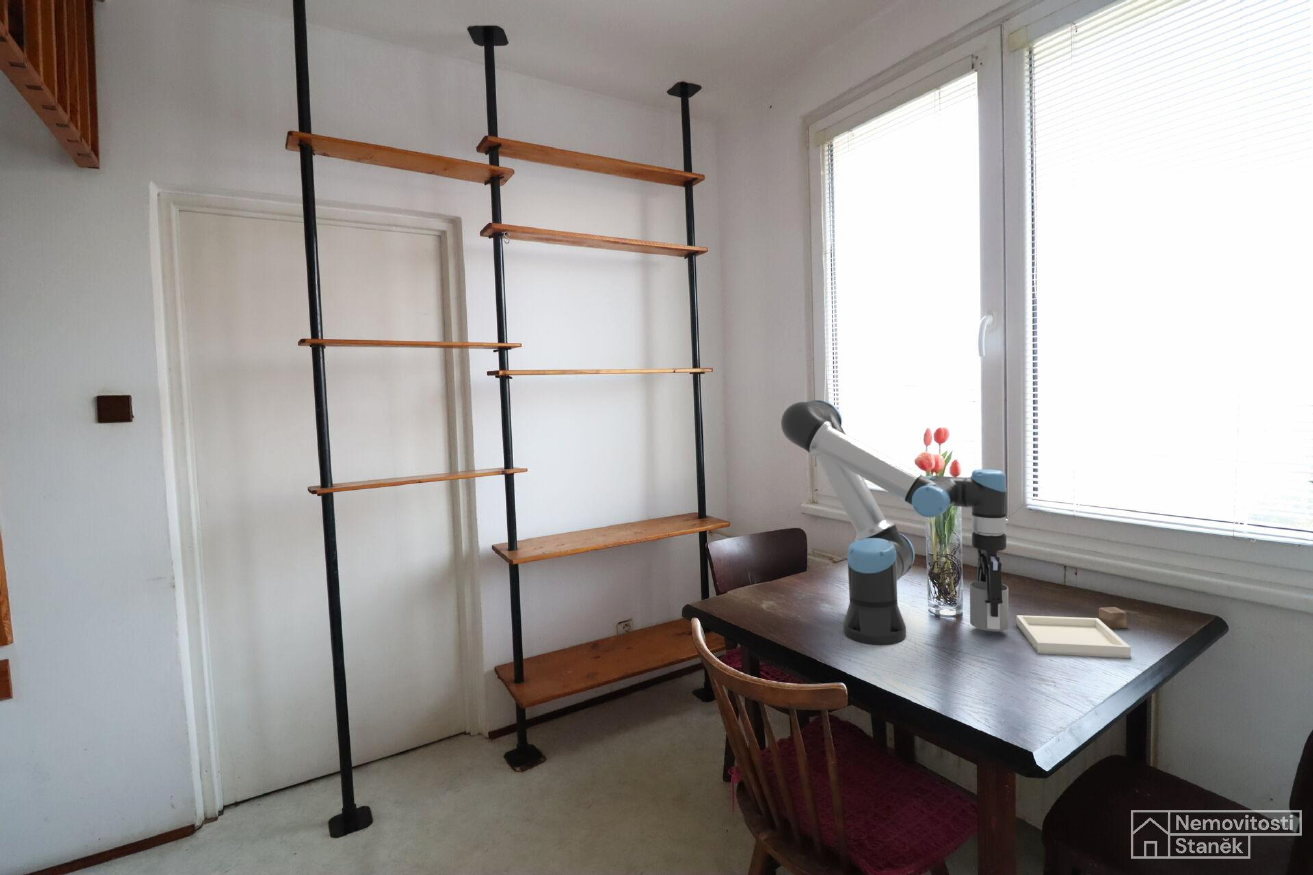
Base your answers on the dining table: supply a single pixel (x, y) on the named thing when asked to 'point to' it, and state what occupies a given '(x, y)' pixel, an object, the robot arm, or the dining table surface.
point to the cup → (980, 607)
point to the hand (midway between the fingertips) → (988, 621)
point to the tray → (1072, 636)
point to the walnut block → (1113, 617)
